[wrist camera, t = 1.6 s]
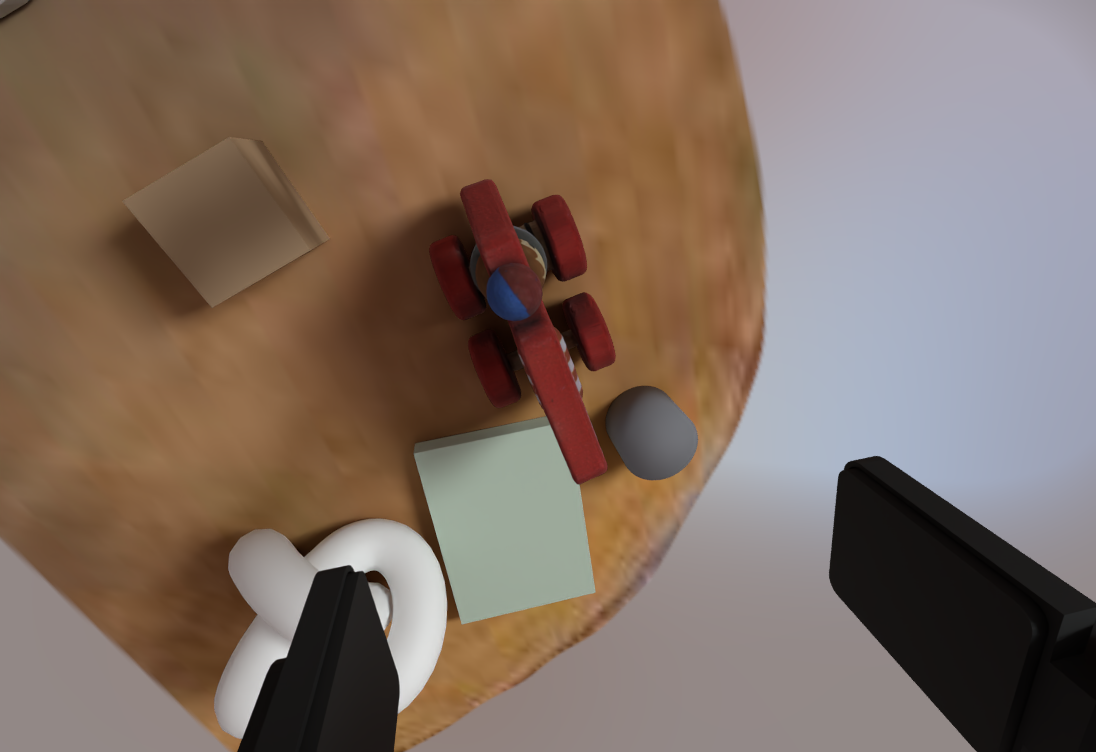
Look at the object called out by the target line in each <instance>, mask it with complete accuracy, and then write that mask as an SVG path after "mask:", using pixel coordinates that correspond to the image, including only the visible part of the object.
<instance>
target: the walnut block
mask: <svg viewBox="0 0 1096 752" xmlns="http://www.w3.org/2000/svg"><path fill="white" fill-rule="evenodd" d="M122 202H123V203H124V204H125V205H126V206H127V207H128V209H129V210H130V211H131V212H132V213H133V215H134V216H135V217H136V218H137V219H138V221H139V222H140V223H141V224H142V225H143V226H144V228H145V229H146V230H147V231H148V232H149V234H150V235H151V236H152V237H153V238H154V240H155V241H156V242H157V243H158V244H159V246H160V247H161V248H162V249H163V250H164V251H165V253H166V254H167V255H168V256H169V257H170V259H171V260H172V261H173V262H174V263H175V265H176V266H177V267H178V268H179V269H180V271H181V272H182V273H183V274H184V275H185V276H186V278H187V279H188V280H189V281H190V282H191V284H192V285H193V286H194V287H195V288H196V290H197V291H198V292H199V293H200V294H201V295H202V297H203V298H204V299H205V300H206V301H207V303H208V304H209V305H210V306H211V307H212V308H213V307H214V306H216V305H218V304H220V303H221V302H223V301H225V300H227V299H228V298H230V297H232V296H233V295H235V294H237V293H239V292H240V291H242V290H244V289H246V288H247V287H249V286H251V285H252V284H254V283H256V282H257V281H259V280H261V279H263V278H264V277H266V276H268V275H269V274H271V273H273V272H275V271H276V270H278V269H280V268H281V267H283V266H285V265H287V264H288V263H290V262H292V261H293V260H295V259H297V258H298V257H300V256H302V255H304V254H305V253H307V252H309V251H310V250H312V249H314V248H316V247H317V246H319V245H321V244H322V243H324V242H326V241H327V240H329V239H330V238H329V236H328V235H327V233H326V232H325V231H324V229H323V228H322V226H321V225H320V223H319V222H318V221H317V219H316V218H315V216H314V215H313V213H312V212H311V211H310V209H309V208H308V206H307V205H306V203H305V202H304V200H303V199H302V198H301V196H300V195H299V193H298V192H297V190H296V189H295V188H294V186H293V185H292V183H291V182H290V180H289V179H288V178H287V176H286V175H285V173H284V172H283V170H282V169H281V167H280V166H279V165H278V163H277V162H276V160H275V159H274V157H273V156H272V155H271V153H270V152H269V150H268V149H267V147H266V146H265V145H264V143H263V142H262V141H257V140H249V139H241V138H234V137H228V138H227V139H225V140H223V141H222V142H220V143H218V144H217V145H215V146H213V147H212V148H210V149H208V150H207V151H205V152H203V153H202V154H200V155H198V156H197V157H195V158H193V159H192V160H190V161H188V162H187V163H185V164H183V165H182V166H180V167H178V168H177V169H175V170H173V171H172V172H170V173H168V174H167V175H165V176H163V177H162V178H160V179H158V180H157V181H155V182H153V183H152V184H150V185H148V186H147V187H145V188H143V189H142V190H140V191H138V192H137V193H135V194H133V195H132V196H130V197H128V198H127V199H125V200H123V201H122Z"/></svg>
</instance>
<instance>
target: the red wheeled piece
mask: <svg viewBox="0 0 1096 752" xmlns="http://www.w3.org/2000/svg"><path fill="white" fill-rule="evenodd" d="M460 196H461V199H462V202H463V205H464V208H465V210H466V214H467V217H468V220H469V223H470V226H471V229H472V232H473V235H474V238H475V241H476V245H475V247H474V249H473V252H472V255H471V260H469V257H468V255H467V253H466V251H465V249H464V247H463V244H462V243H461V241H460V239H459V238H458V237H457V236H455V235H450V236H448V237H445V238H443V239H441V240H438V241H436V242H433V243H432V244H431V245H430V248H429V253H430V257H431V261H432V264H433V268H434V270H435V273H436V276H437V278H438V281H439V283H440V286H441V288H442V290H443V292H444V294H445V297H446V299H447V301H448V303H449V305H450V307H451V309H452V311H453V312H454V314H455V315H456V316H457V317H458V318H459V319H461V320H466V319H469V318H471V317H474V316H476V315H479V314H481V313H483V312H484V311H485V310H486V302H485V299H484V296H485V298H486V299H487V300H488V303H489V305H490V307H491V309H492V310H493V311H494V312H495V313H496V314H497V315H498V316H500V317H501V318H503V319H505V320H508V323H509V326H510V328H511V331H512V334H513V338H514V340H515V343H516V346H517V349H518V350H517V351H514V352H511V353H509V354H506V351H505V349H504V347H503V345H502V343H501V341H500V339H499V337H498V335H497V334H496V332H495V331H494V330H485V331H483V332H481V333H478V334H476V335H474V336H472V337H470V338H469V340H468V347H469V351H470V355H471V359H472V361H473V364H474V367H475V370H476V372H477V375H478V377H479V379H480V381H481V384H482V386H483V388H484V390H485V392H486V394H487V396H488V398H489V400H490V401H491V403H492V404H493V405H494V406H495V407H497V408H501V407H505V406H507V405H509V404H512V403H514V402H517V401H518V400H519V399H520V398H521V390H520V387H519V384H518V381H517V379H516V376H515V373H514V371H517V370H519V369H522V368H524V369H525V372H526V374H527V376H528V379H529V381H530V383H531V386H532V388H533V391H534V393H535V395H536V397H537V399H538V401H539V404H540V405H541V407H542V408H543V409H544V412H545V414H546V417H547V419H548V421H549V424H550V426H551V428H552V430H553V433H554V435H555V438H556V440H557V443H558V445H559V447H560V450H561V452H562V454H563V457H564V459H565V461H566V464H567V466H568V468H569V471H570V473H571V476H572V478H573V480H574V482H575V483H576V484H577V485H578V484H582V483H584V482H586V481H588V480H590V479H593V478H595V477H597V476H600V475H602V474H604V473H605V472H606V471H607V462H606V460H605V458H604V455H603V452H602V450H601V447H600V445H599V442H598V439H597V437H596V434H595V432H594V429H593V426H592V424H591V421H590V419H589V416H588V414H587V411H586V409H585V406H584V403H583V401H582V397H583V390H582V386H581V383H580V381H579V378H578V376H577V373H576V370H575V367H574V364H573V362H572V359H571V357H570V355H569V351H568V349H571V348H573V347H575V346H576V347H577V349H578V351H579V354H580V356H581V358H582V360H583V362H584V364H585V365H586V367H587V368H588V369H589V370H591V371H597V370H599V369H601V368H604V367H606V366H609V365H611V364H613V363H614V362H615V356H616V355H615V350H614V346H613V342H612V339H611V336H610V334H609V331H608V328H607V326H606V323H605V321H604V318H603V316H602V314H601V312H600V310H599V308H598V306H597V304H596V302H595V301H594V299H593V298H592V296H591V295H589V294H588V293H585V292H584V293H580V294H578V295H575V296H573V297H571V298H568V299H566V300H565V301H564V302H563V305H562V307H563V312H564V315H565V318H566V321H567V324H568V327H569V330H568V331H565V332H563V333H561V334H560V332H559V331H558V330H557V329H556V328H555V327H553V325H552V322H551V320H550V318H549V316H548V313H547V311H546V308H545V306H544V304H543V301H542V295H543V293H542V288H543V285H544V282H545V277H546V273H547V271H549V270H552V271H553V273H554V275H555V277H556V278H557V279H558V280H559V281H567V280H570V279H572V278H575V277H577V276H580V275H582V274H584V273H585V272H586V270H587V261H586V255H585V251H584V248H583V244H582V241H581V238H580V235H579V232H578V229H577V227H576V224H575V222H574V219H573V217H572V215H571V212H570V210H569V208H568V206H567V204H566V202H565V201H564V199H563V198H562V197H561V196H560V195H552V196H549V197H547V198H544V199H541V200H539V201H537V202H535V203H534V204H533V206H532V209H531V211H532V217H533V222H530V223H524V224H523V225H522V226H520V227H515V226H513V224H512V222H511V220H510V217H509V215H508V213H507V210H506V208H505V206H504V203H503V201H502V199H501V196H500V194H499V191H498V189H497V187H496V185H495V183H494V182H493V181H492V180H488V179H486V180H483V181H480V182H477V183H474V184H471V185H468V186H465V187H463V188H462V189H461V192H460Z"/></svg>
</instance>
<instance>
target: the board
mask: <svg viewBox="0 0 1096 752" xmlns="http://www.w3.org/2000/svg"><path fill="white" fill-rule="evenodd" d="M414 457H415V460H416V464H417V467H418V471H419V475H420V478H421V482H422V485H423V489H424V492H425V496H426V499H427V503H428V506H429V510H430V513H431V517H432V521H433V524H434V528H435V531H436V535H437V538H438V542H439V545H440V549H441V552H442V556H443V559H444V563H445V566H446V570H447V574H448V577H449V581H450V584H451V588H452V591H453V595H454V598H455V602H456V605H457V609H458V612H459V616H460V620H461V623H462V624H465V623H470V622H474V621H478V620H482V619H486V618H491V617H495V616H499V615H503V614H507V613H512V612H516V611H520V610H524V609H528V608H532V607H537V606H541V605H545V604H549V603H553V602H558V601H562V600H566V599H570V598H574V597H579V596H583V595H587V594H591V593H595V586H594V580H593V573H592V566H591V559H590V553H589V546H588V539H587V533H586V526H585V519H584V512H583V506H582V499H581V492H580V486H579V484H578V485H577V484H576V483H575V482H574V480H573V478H572V476H571V473H570V471H569V468H568V466H567V464H566V461H565V459H564V457H563V454H562V452H561V450H560V447H559V445H558V443H557V440H556V438H555V435H554V433H553V430H552V428H551V426H550V424H549V421H548V419H547V417H541V418H536V419H531V420H527V421H522V422H517V423H512V424H507V425H502V426H497V427H493V428H488V429H483V430H478V431H473V432H468V433H464V434H459V435H454V436H449V437H444V438H439V439H435V440H430V441H425V442H420V443H415V448H414Z"/></svg>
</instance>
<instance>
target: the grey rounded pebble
mask: <svg viewBox="0 0 1096 752" xmlns="http://www.w3.org/2000/svg"><path fill="white" fill-rule="evenodd" d="M606 430H607V433H608V435H609V437H610V439H611V441H612V442H613V444H614V446H615V448H616V449H617V451H618V453H619V455H620V456H621V458H622V460H623V462H624V463H625V465H626V467H627V468H628V469H629V470H630V471H631V472H632V473H633V474H634V475H636V476H638V477H640V478H642V479H646V480H661V479H665V478H668V477H671V476H673V475H675V474H677V473H678V472H680V471H681V470H682V469H683V468H685V467H686V466H687V465H688V463H689V462H690V461H691V459H692V458H693V456H694V454H695V452H696V448H697V444H698V435H697V430H696V428H695V426H694V424H693V422H692V421H691V420H690V419H689V418H688V417H687V416H686V415H685V414H684V412H683V411H682V410H681V409H680V408H679V407H678V406H677V405H676V404H675V403H674V402H673V401H672V400H671V398H670V397H669V396H668V395H667V394H666V393H665V392H663V391H662V390H660V389H658V388H656V387H652V386H638V387H634V388H631V389H628V390H627V391H625V392H623V393H622V394H620V395H619V396H618V397H617V398H616V399H615V400H614V401H613V403H612V404H611V406H610V407H609V409H608V412H607V415H606Z"/></svg>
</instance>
